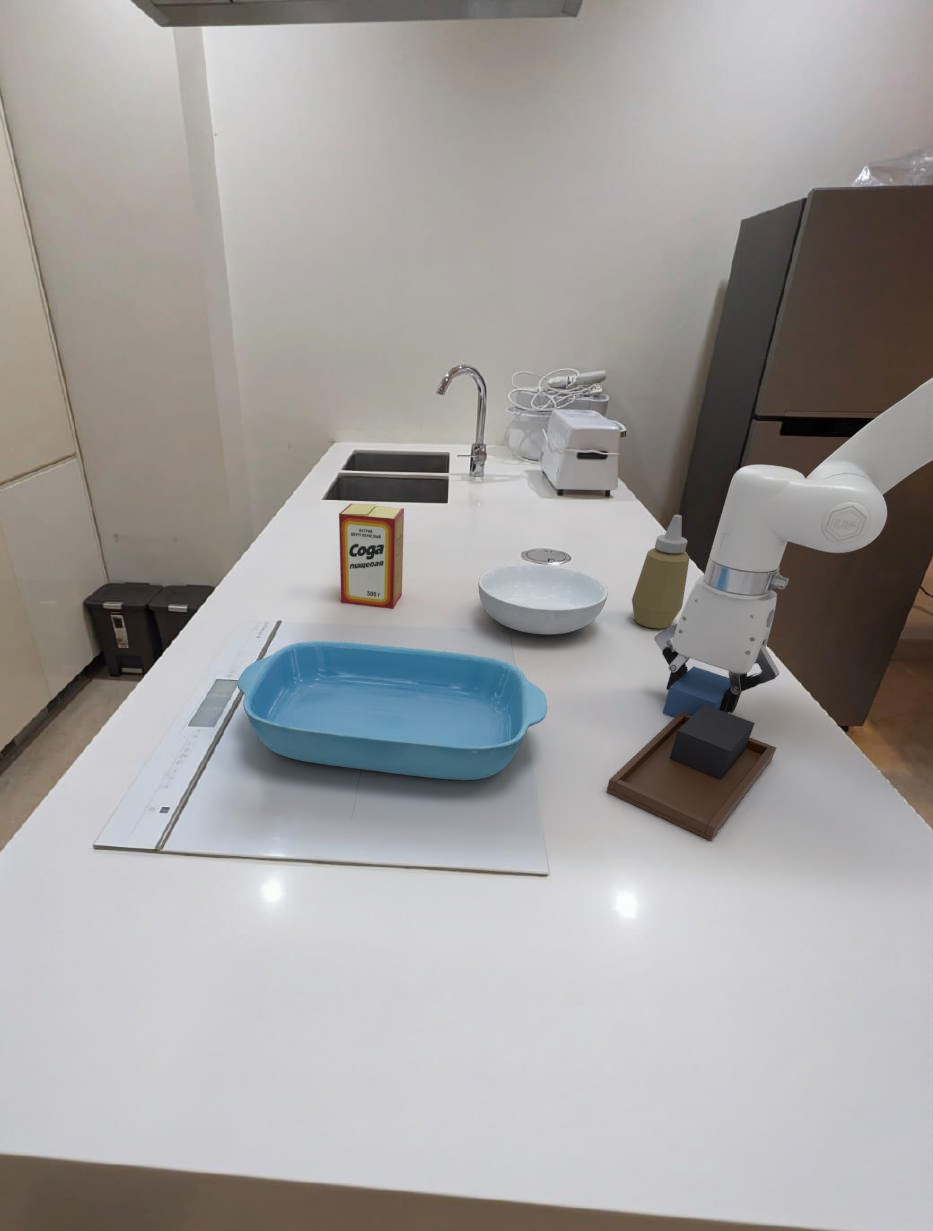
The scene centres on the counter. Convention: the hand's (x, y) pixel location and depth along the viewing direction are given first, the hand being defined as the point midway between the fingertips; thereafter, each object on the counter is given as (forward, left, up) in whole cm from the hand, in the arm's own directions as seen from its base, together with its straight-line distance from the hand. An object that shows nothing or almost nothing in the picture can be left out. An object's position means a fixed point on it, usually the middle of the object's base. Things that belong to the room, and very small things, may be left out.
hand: (698, 704), depth 90 cm
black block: (-5, +10, 0) cm, 12 cm away
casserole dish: (+26, +33, -1) cm, 42 cm away
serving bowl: (+31, -9, -1) cm, 32 cm away
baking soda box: (+58, +3, -1) cm, 58 cm away
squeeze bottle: (+17, -23, -1) cm, 29 cm away
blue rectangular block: (0, 0, -1) cm, 1 cm away
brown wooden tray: (-5, +15, -1) cm, 16 cm away
